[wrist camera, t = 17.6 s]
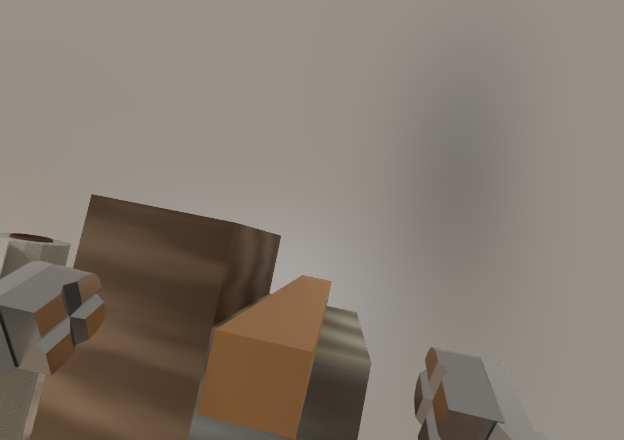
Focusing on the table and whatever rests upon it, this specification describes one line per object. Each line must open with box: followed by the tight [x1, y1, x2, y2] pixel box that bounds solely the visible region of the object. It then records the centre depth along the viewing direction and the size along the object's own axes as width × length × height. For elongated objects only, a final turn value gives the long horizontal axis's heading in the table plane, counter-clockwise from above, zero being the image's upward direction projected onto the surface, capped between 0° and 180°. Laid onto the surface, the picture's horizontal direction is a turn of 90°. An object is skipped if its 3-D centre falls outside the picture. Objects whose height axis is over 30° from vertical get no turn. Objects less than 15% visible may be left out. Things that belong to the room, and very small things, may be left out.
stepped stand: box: [30, 194, 371, 440], centre depth 27 cm, size 16×18×26 cm
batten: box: [197, 275, 331, 439], centre depth 23 cm, size 25×3×2 cm, turn 175°
